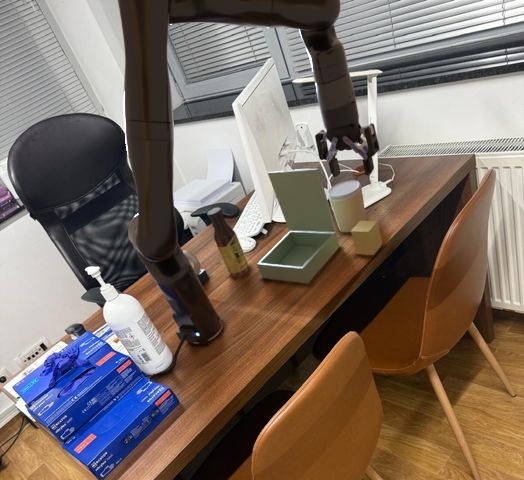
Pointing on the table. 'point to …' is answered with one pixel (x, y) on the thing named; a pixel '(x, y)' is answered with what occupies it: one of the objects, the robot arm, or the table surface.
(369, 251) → the block
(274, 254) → the box
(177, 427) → the table surface
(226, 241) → the sauce bottle
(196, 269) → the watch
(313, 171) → the lid
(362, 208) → the coffee cup
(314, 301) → the table surface
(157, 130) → the robot arm
